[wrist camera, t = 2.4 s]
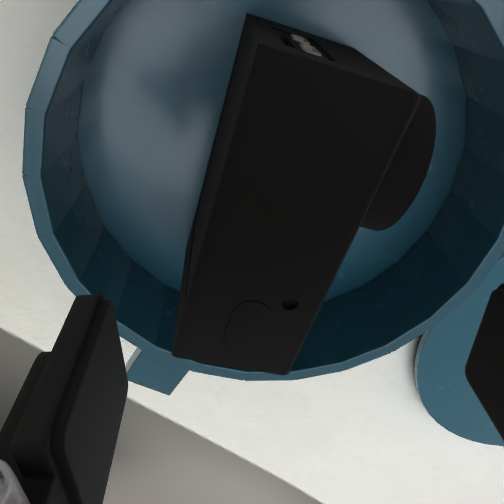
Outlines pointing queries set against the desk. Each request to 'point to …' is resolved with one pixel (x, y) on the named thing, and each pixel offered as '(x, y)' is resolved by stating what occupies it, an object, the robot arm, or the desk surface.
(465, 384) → the tin lid
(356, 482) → the desk surface
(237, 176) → the digital camera
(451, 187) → the tin
